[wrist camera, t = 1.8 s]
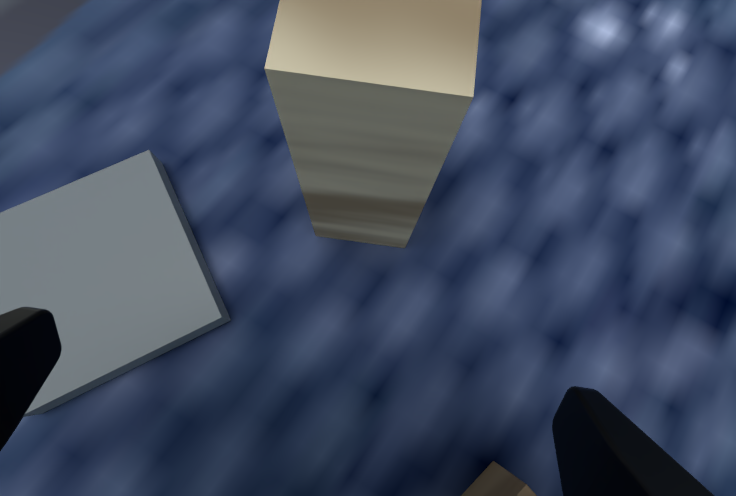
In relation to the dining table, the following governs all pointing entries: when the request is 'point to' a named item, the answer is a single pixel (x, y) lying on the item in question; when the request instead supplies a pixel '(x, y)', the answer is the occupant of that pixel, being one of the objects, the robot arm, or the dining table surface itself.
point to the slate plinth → (107, 274)
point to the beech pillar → (371, 105)
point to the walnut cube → (498, 484)
